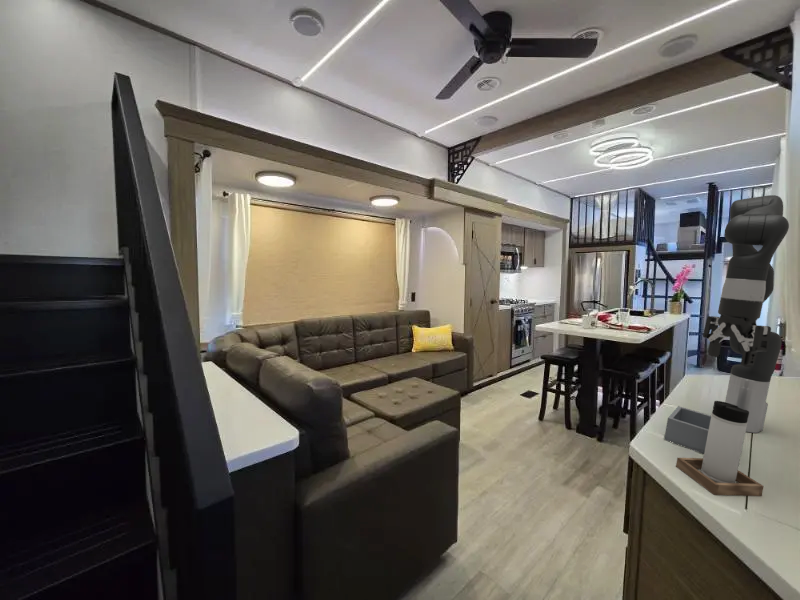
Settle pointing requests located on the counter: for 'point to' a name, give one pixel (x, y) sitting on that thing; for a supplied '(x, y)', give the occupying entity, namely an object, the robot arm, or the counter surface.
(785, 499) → the counter surface
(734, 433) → the travel mug
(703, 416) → the gray bin
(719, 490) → the walnut holder
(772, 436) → the counter surface
